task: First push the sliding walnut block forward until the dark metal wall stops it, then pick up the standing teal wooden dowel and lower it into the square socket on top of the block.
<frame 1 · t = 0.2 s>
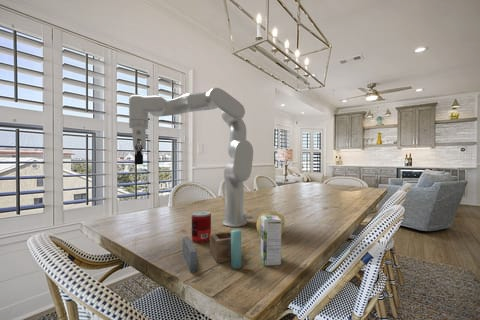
hand: (139, 164, 101), 31 cm above the table, fingers open, 9 cm apart
dowel: (236, 266, 72), on the table
syrup box: (270, 262, 75), on the table
block: (224, 245, 79), point 3 cm above the table, slide at 0.0 cm
sculpture: (270, 237, 99), on the table
wall: (189, 262, 75), on the table
canned food: (201, 239, 96), on the table
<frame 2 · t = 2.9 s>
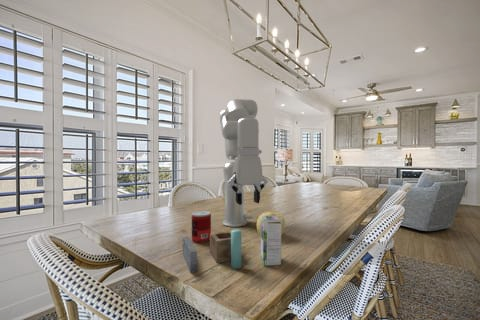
hand: (248, 202, 83), 18 cm above the table, fingers open, 6 cm apart
nothing on the table moved.
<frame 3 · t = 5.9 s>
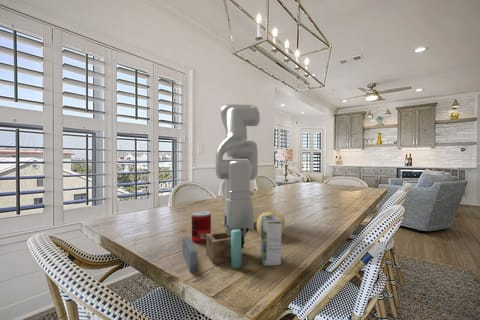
hand: (239, 247, 82), 2 cm above the table, fingers closed
block: (220, 246, 79), point 3 cm above the table, slide at 1.3 cm, touching gripper
everything else where it was.
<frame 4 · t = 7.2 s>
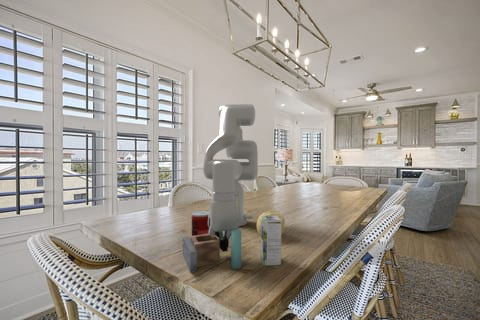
hand: (223, 249, 80), 2 cm above the table, fingers closed
block: (204, 248, 77), point 4 cm above the table, slide at 7.0 cm, touching gripper, wall
everything else where it was.
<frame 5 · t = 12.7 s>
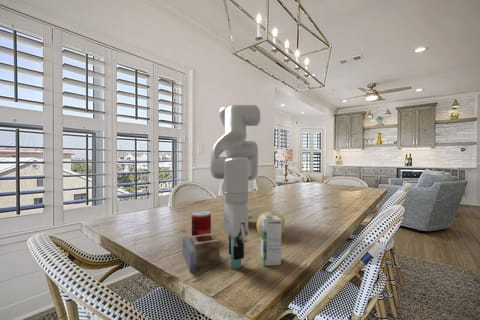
hand: (236, 255, 72), 3 cm above the table, fingers closed on dowel, 3 cm apart
dowel: (236, 266, 72), on the table, touching gripper
block: (204, 248, 77), point 3 cm above the table, slide at 7.0 cm, touching wall
everything else where it was.
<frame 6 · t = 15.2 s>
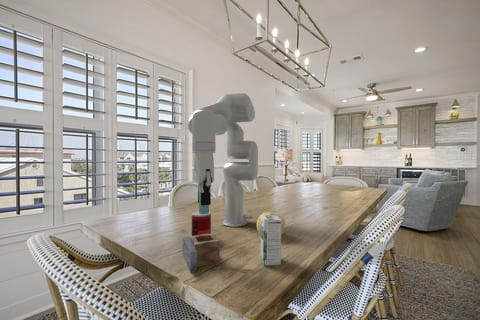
hand: (204, 203, 77), 19 cm above the table, fingers closed on dowel, 3 cm apart
dowel: (204, 213, 77), point 15 cm above the table, touching gripper
everything else where it was.
when the fingers open (8 cm above the table, at t = 17.7 s): dowel drops 1 cm, resting on block.
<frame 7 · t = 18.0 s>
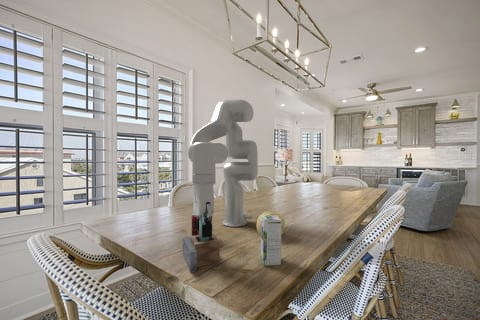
hand: (204, 232, 77), 9 cm above the table, fingers open, 6 cm apart
dowel: (204, 247, 77), point 4 cm above the table, touching block
block: (204, 248, 77), point 4 cm above the table, slide at 7.0 cm, touching dowel, wall
everything else where it was.
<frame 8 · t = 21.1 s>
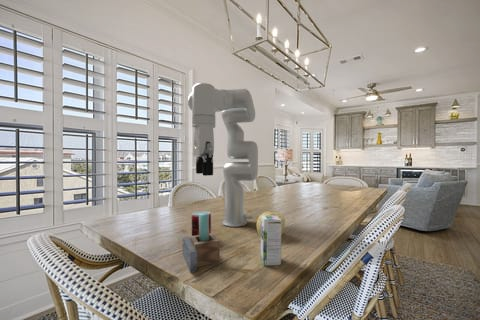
hand: (204, 174, 77), 28 cm above the table, fingers open, 9 cm apart
block: (204, 248, 77), point 3 cm above the table, slide at 7.0 cm, touching dowel
everything else where it was.
at the end: block slide at 7.0 cm; dowel 0.1 cm off-centre on the block, point 4.0 cm above the block's base; dowel tilted 1° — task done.
